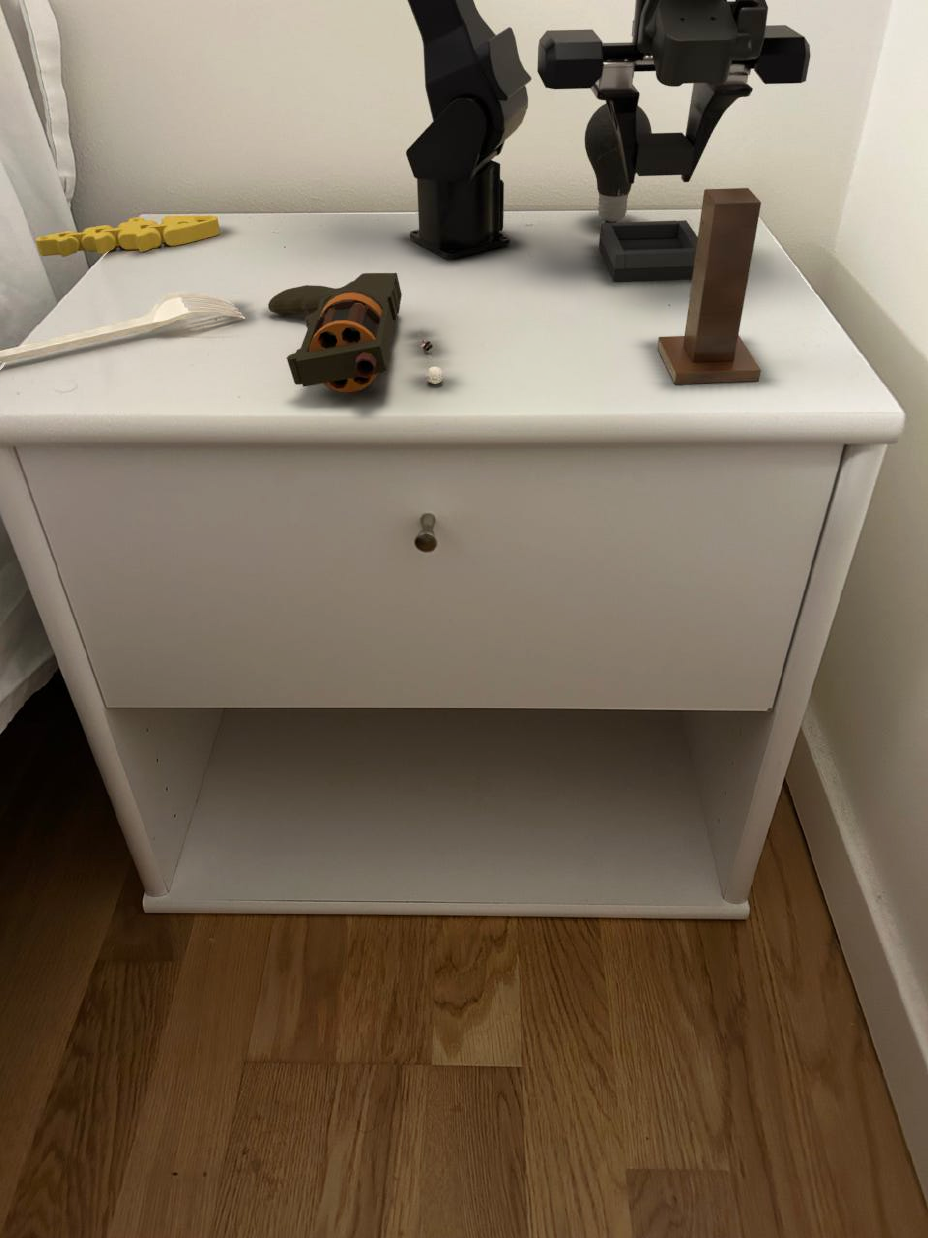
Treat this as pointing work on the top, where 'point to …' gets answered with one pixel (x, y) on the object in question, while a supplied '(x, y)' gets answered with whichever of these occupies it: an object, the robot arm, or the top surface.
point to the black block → (663, 154)
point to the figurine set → (433, 373)
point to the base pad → (648, 250)
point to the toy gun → (343, 330)
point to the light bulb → (610, 162)
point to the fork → (131, 324)
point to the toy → (131, 235)
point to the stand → (717, 294)
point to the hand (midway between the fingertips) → (657, 181)
